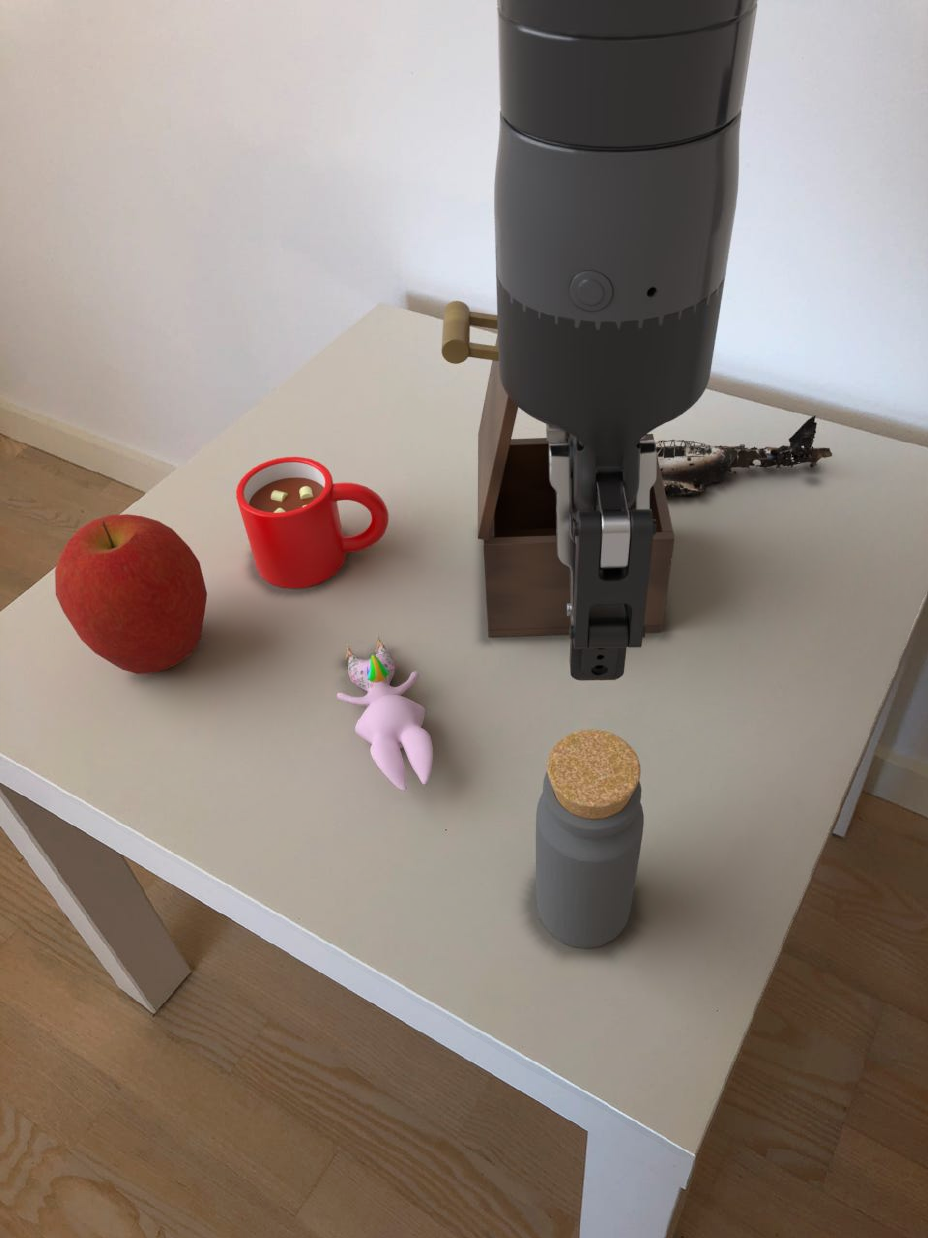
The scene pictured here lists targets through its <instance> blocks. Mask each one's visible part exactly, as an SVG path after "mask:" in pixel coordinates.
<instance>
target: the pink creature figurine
mask: <svg viewBox="0 0 928 1238" xmlns="http://www.w3.org/2000/svg"><path fill="white" fill-rule="evenodd" d="M376 636H377V644H376V648H375V650H374V653H375V654H374V653H372V654H371V656H370V658H369V659H361V658H359V657H358V656H357V655H356V654H354V653H353V652H352V651H351V648H350V646H349V644H348V643H346V648H347V649H346V655H345V661H346V662H348V663H347V673H348V677H349V680H350V681H351V683H353V684H354V685H355V686H356V687H357V688H360V689H362V690H363V691H365V692H367V693H366V694H365V695H364V696H352V695H348V694H346V693H345V692H343V691H342V692H341V691H340V692H338V693H336V698H337V699H338V700H339V701H342V702H345V703H349V704H353V705H358V706H367V707H366V709H365V710H364V711H363V713H362V714H361V716H360V717H359V718H358V720H357V722H356V724H355V727H354V731H355V733H356V734H357V735H358V737H359V736H360V738H361V739H364V740H365V741H366V742H367V743H369V744H370V751H369V752H370V755H371V757H372V759H373V761H374V763H375V764H376V766H377V767H378V768H379V769H380V771H381V772H382V773H383V774H384V776H386V778H387V779H388V780H389V781H390V782H391V783H392V784H393V785H394V786H395V787H396V788H398V789H399V790H400V791H403V792H406V791H407V790H408V785H407V773H406V766H405V761H404V758H403V755H402V751H401V749H403V750H404V752H405V755H406V757H407V759H408V761H409V764H410V765H411V767H412V769H413V771H414V773H415V774H416V775H417V777H418V778H419V780H420V782H421V784H422V785H424V786H425V785H427V784H428V783H429V781H430V780H431V779H430V778H431V774H432V769H433V761H434V747H433V740H432V737H431V735H430V733H429V732H428V731H427V730H426V729H424V728H422V726H423V724H424V718H425V716H426V710H425V707H423V706H422V705H421V704H419V703H417V702H416V701H413V700H412V699H409V698H408V697H405V696H402V695H403V694H405V692H406V691H408V690H409V689H410V688H411V687H412V686H413V684H414V683H415V681H417V680H418V678H419V672H418V671H417V670H414V671H412V672H411V673H410V675H409V677H408V679H407V680H406V681H405V682H403V683H402V684H400V685H398V686H392V685H390V684H391V681H392V680H393V678H394V675H395V672H396V664H395V660H394V658H393V657H392V656H391V654H390V653H389V651H388V650H387V648H386V646H385V645H384V643H383V642H382V641H381V639H380V636H379V635H378V634H377V635H376Z"/></svg>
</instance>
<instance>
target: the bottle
mask: <svg viewBox="0 0 928 1238" xmlns="http://www.w3.org/2000/svg"><path fill="white" fill-rule="evenodd" d="M640 779H641V762H640V759H639V757H638V755H637V753H636V751H635V750H634V749H633V747H632V746H631V745H630V744H629V743H628V742H627V741H626V740H624V739H623V738H621V737H620V736H619V735H616V734H615V733H612V732H608V731H605V730H601V729H582V730H579V731H575V732H572V733H569V734H567V735H566V736H564V737H562V738H561V739H560V740H559V741H558V742H557V743H556V744H555V745H554V746H553V747H552V749H551V750H550V752H549V754H548V758H547V764H546V772H545V775H544V777H543V783H542V793H541V794H540V796H539V799H538V802H537V805H536V813H535V899H536V900H535V901H536V909H537V914H538V916H539V919H540V922H541V924H542V925H543V927H544V928H545V930H546V931H547V932H548V933H549V934H550V935H551V936H552V937H554V938H555V939H556V940H558V941H559V942H561V943H563V944H565V945H568V946H571V947H574V948H579V949H580V948H581V949H593V948H598V947H601V946H604V945H606V944H608V943H610V942H612V941H613V940H615V939H616V938H617V937H618V936H619V935H620V934H621V933H622V931H623V930H624V928H625V927H626V925H627V923H628V920H629V918H630V915H631V909H632V904H633V898H634V892H635V888H636V887H635V885H636V879H637V875H638V867H639V860H640V855H641V848H642V841H643V834H644V826H645V824H644V823H645V815H644V810H643V806H642V803H641V799H642V784H641V781H640Z"/></svg>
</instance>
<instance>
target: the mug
mask: <svg viewBox="0 0 928 1238" xmlns="http://www.w3.org/2000/svg"><path fill="white" fill-rule="evenodd" d="M235 496H236V497H235V498H236V502H237V506H238V508H239V512H240V515H241V519H242V522H243V525H244V529H245V532H246V536H247V539H248V543H249V547H250V549H251V552H252V556H253V560H254V563H255V567H256V570H257V572H258V574H259V575H260V577H261V578H262V579H263V580H265V581H266V582H268V583H269V584H271V585H273V586H276V587H278V588H279V587H280V588H284V589H302V588H303V589H304V588H309V587H312V586H315V585H318V584H321V583H323V582H325V581H327V580H328V579H329V578H331V577H333V576H334V575H335V574H336V573H338V571H340V569H341V568H342V566H343V565H344V563H345V560H346V558H347V553H354V552H355V553H356V552H360V551H363V550H366V549H368V548H370V547H372V546H374V545H375V544H377V543H378V542H379V541H380V540H381V539H382V537H383V536H384V535H385V533H386V531H387V528H388V525H389V519H390V518H389V517H390V516H389V515H390V514H389V510H388V507H387V505H386V503H385V502H384V500H383V498H382V497H381V496H380V495H379V494H378V493H377V492H375V491H374V490H372V489H371V488H370V487H368V486H365V485H362V484H359V483H354V482H336V483H335V482H334V480H333V476H332V474H331V472H330V471H329V469H328V468H327V467H326V466H325V465H324V464H322V463H320V462H319V461H317V460H314V459H312V458H309V457H308V458H307V457H303V456H302V457H301V456H284V457H278V458H274V459H271V460H267V461H264V462H262V463H260V464H258V465H256V466H254V467H253V468H251V469H250V470H249V471H248V472H246V473H245V474H244V476H242V478H241V479H240V480H239V482H238V484H237V486H236V490H235ZM339 501H351V502H356V503H359V504H360V505H362V506H364V507H365V508H366V509H367V510H368V511H369V513H370V516H371V521H370V524H369V525H368V526H367V528H365V530H362V531H361V532H359V533H356V534H352V535H344V532H343V531H344V530H343V526H342V520H341V515H340V512H339V506H338V502H339Z"/></svg>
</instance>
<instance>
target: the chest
mask: <svg viewBox="0 0 928 1238" xmlns="http://www.w3.org/2000/svg"><path fill="white" fill-rule="evenodd" d="M641 440H655V436H654V433H648V434H646V436H645V438H644V439H641ZM650 509H651V510H652V513H653V520H656V524H657V531H656V535H653V544H652V553H651V563H650V572H649V581H648V591H647V600H646V609H645V619H644V625H645V634H646V633H663V626H664V625H663V624H664V618H665V616H664V615H665V610H666V603H667V597H668V589H669V584H670V575H671V570H672V569H671V568H672V561H673V556H674V555H673V554H674V547H675V540H676V537H675V533H674V527H673V524H672V519H671V518H672V517H671V514H670V508H669V504H668V499H667V494H665V490H664V485H663V480H662V475H661V470H660V466H659V461H658V456H657V477H656V481H655V483H654V485H653V486H652V487H651V489H650ZM630 510H632V506H631V509H630ZM482 548H483V567H484V583H485V602H486V604H485V605H486V619H487V620H486V621H487V623H486V624H487V636H488V637H489V638H493V637H496V638H497V637H501V638H502V637H531V636H532V637H533V636H567V635H569V636H570V625H571V621H570V616H567V603H570V569H569V567H568V566H567V565H565V564H563V563H562V562H561V561H560V559H559V557H558V555H557V551H556V492H555V490H554V488H553V487H552V486H551V485H550V482H549V442H547V437H533V438H531V437H530V438H511V442H510V447H509V451H508V455H507V460H506V464H505V469H504V473H503V478H502V482H501V487H500V491H499V495H498V500H497V504H496V509H495V513H494V518H493V522H492V527H491V531H490V536H489V539H488V540H482Z"/></svg>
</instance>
